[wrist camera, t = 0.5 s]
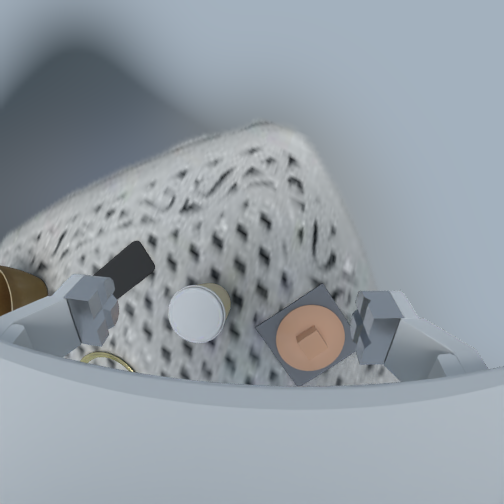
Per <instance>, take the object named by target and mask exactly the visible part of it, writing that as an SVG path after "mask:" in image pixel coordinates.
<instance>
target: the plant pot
mask: <svg viewBox="0 0 504 504" xmlns="http://www.w3.org/2000/svg"><path fill="white" fill-rule="evenodd" d="M46 296H48V292H47V288H46V285H45V283H44V282H43V281H42V280H41V279H40V278H38V277H36V276H33V275H31V274H29V273H26V272H24V271H21V270H17V269H14V268H10V267H5V266H0V316H2V315H4V314H7V313H9V312H11V311H14V310H16V309H18V308H21V307H23V306H25V305H28V304H30V303H32V302H35V301H37V300H39V299H42V298H44V297H46Z"/></svg>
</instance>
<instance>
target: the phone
mask: <svg viewBox="0 0 504 504" xmlns="http://www.w3.org/2000/svg"><path fill="white" fill-rule="evenodd" d="M154 269H155V265H154V263H153V261H152V260H151V258H150V257H149V255H148V254H147V252H146V250H145V249H144V247H143V246H142V244H141V243H140V242H139V241H134V242H132V243H131V244H130V245H128V246H127V247H126V248H125V249H124V250H122V251H121V252H120V253H119V254H118V255H117V256H115V257H114V258H113V259H112V260H111V261H109V262H108V263H107V264H106V265H105V266H104V267H103V268H101V269H100V270H99V271H98V272H97V273H96V274H94V275H93V276H100V277H109V278H111V279H112V280H113V282H114V287H115V290H114V292H113V296H114V297H115V298H116V299H118V298H120V297H121V296H122V295H124V294H125V293H126V292H127V291H129V290H130V289H131V288H132V287H134V286H135V285H136V284H138V283H139V282H141V281H142V280H143V279H144V278H145V277H147V276H148V275H149V274H151V273H152V272H153V271H154Z"/></svg>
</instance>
